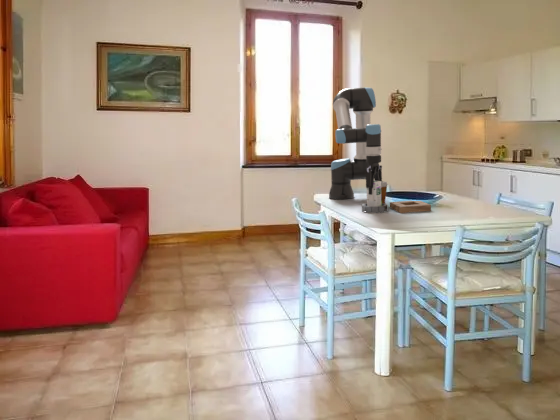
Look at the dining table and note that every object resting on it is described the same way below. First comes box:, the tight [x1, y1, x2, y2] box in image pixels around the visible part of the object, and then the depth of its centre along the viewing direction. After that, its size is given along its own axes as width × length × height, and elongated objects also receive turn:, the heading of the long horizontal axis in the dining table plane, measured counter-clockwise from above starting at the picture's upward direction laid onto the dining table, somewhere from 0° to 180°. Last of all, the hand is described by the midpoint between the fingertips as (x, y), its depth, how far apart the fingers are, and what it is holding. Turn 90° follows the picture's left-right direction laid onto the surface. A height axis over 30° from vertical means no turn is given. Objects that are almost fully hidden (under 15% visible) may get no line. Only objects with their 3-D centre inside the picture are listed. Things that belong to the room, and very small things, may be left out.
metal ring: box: [361, 202, 388, 213], centre depth 267 cm, size 13×13×3 cm
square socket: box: [389, 200, 432, 214], centre depth 265 cm, size 16×16×3 cm
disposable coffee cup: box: [381, 180, 389, 203], centre depth 285 cm, size 10×10×12 cm
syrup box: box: [366, 180, 382, 207], centre depth 266 cm, size 6×6×14 cm
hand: (374, 199), depth 266 cm, fingers closed on syrup box, 6 cm apart
